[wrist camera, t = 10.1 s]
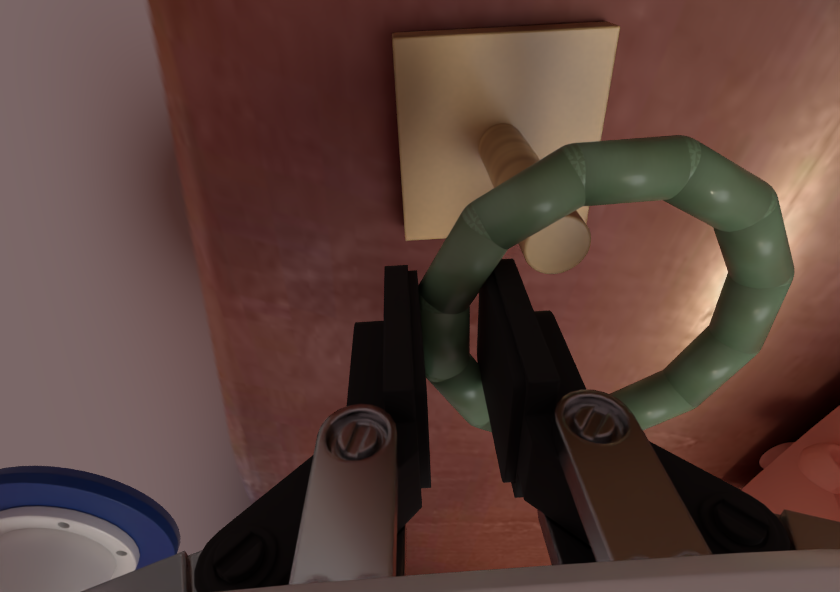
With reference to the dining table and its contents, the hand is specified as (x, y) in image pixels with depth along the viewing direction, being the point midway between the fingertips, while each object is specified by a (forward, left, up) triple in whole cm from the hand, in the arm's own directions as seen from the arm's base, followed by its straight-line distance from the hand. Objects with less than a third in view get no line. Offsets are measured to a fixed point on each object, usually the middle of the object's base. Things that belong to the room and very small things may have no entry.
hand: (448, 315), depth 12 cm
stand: (+3, 0, -14) cm, 14 cm away
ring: (+3, 0, 0) cm, 3 cm away
